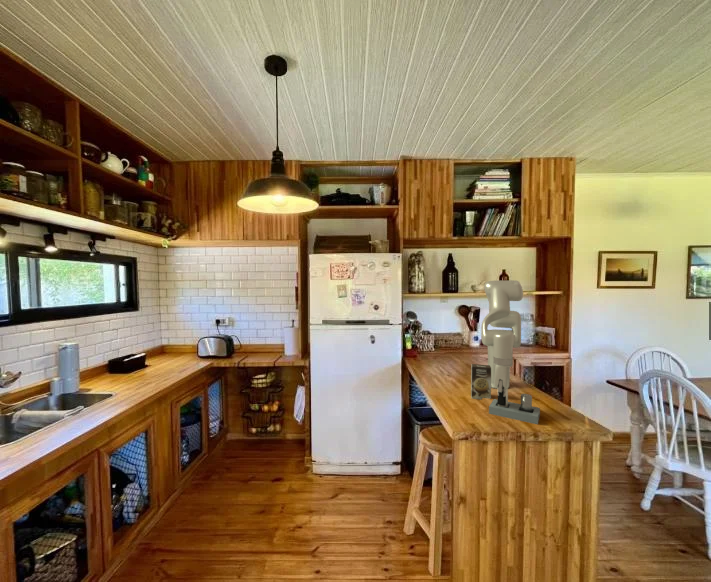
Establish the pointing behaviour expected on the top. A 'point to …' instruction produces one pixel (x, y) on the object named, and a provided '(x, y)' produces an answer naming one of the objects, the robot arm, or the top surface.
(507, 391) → the cream rounded smooth part
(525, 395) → the metal cylinder peg
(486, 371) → the coffee box
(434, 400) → the top surface
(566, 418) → the top surface
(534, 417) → the block
